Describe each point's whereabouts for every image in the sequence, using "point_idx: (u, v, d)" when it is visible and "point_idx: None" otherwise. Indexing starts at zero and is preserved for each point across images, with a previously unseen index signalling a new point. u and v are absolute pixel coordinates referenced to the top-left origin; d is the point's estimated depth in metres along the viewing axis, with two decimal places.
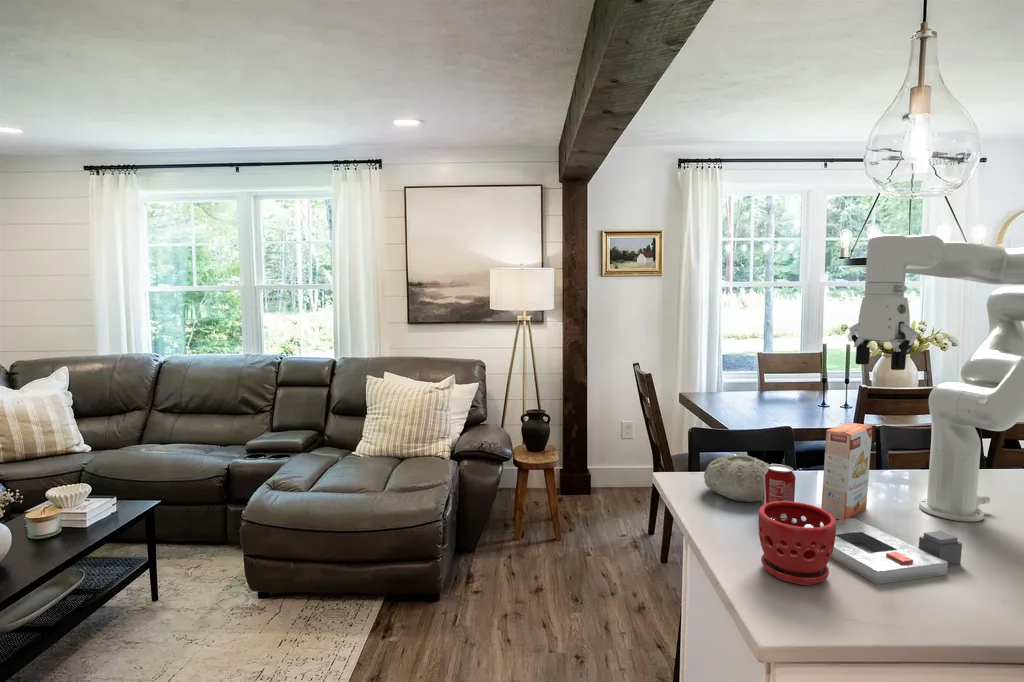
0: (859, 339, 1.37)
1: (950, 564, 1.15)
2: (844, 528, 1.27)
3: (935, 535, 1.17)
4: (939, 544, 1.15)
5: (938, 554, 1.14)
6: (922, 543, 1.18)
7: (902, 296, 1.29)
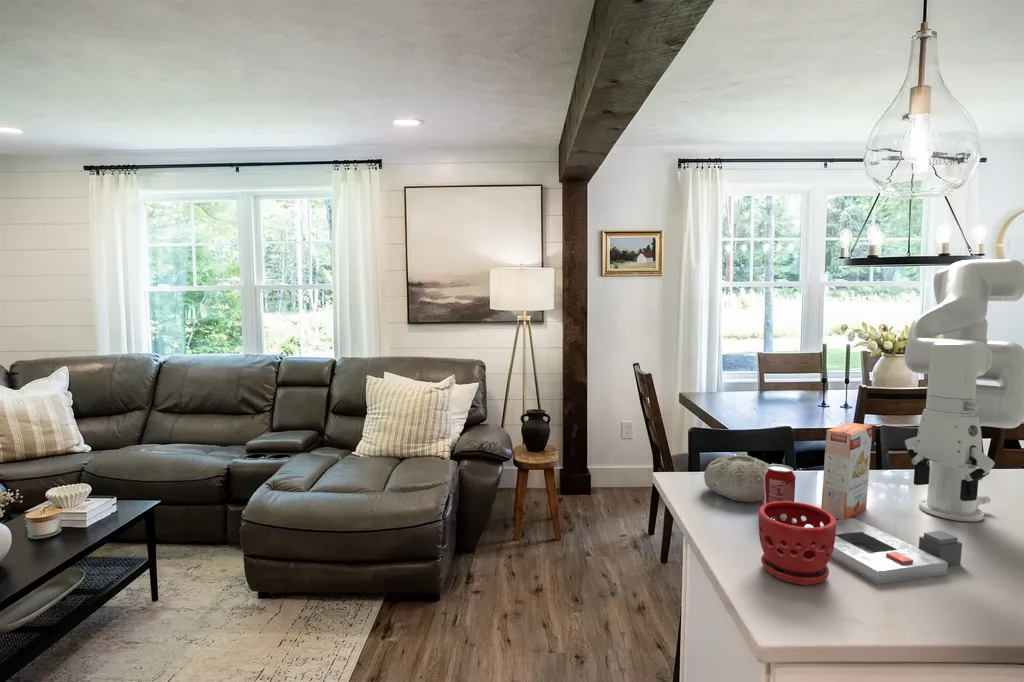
0: (918, 456, 1.19)
1: (950, 564, 1.15)
2: (844, 528, 1.27)
3: (935, 535, 1.17)
4: (939, 544, 1.15)
5: (938, 554, 1.14)
6: (922, 543, 1.18)
7: (972, 414, 1.11)
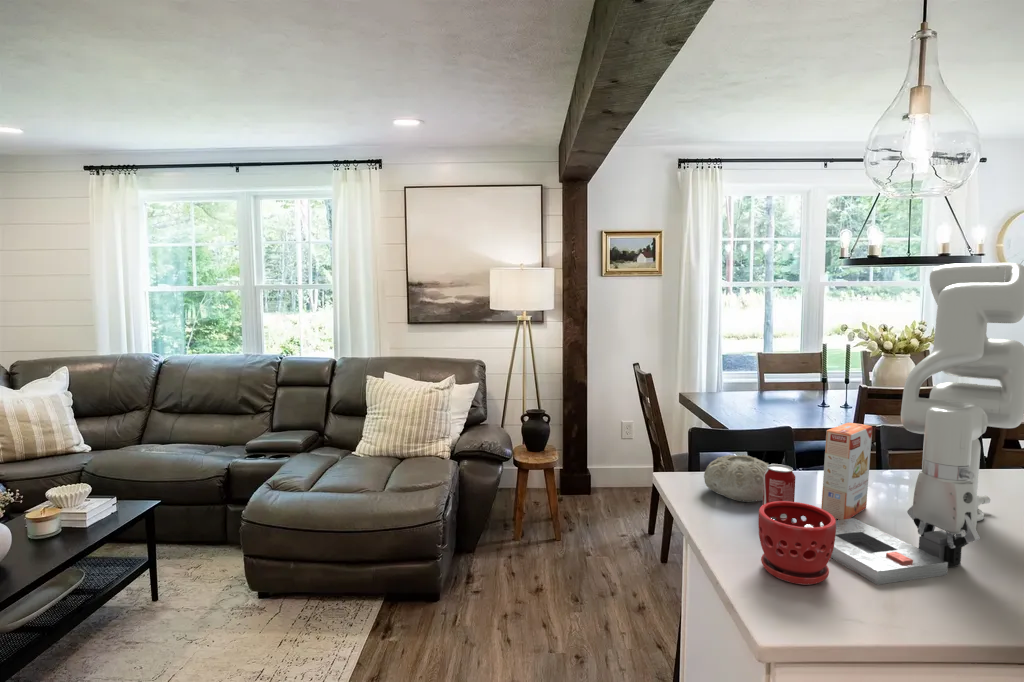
0: (921, 525, 1.19)
1: None
2: (844, 528, 1.27)
3: (935, 535, 1.17)
4: (939, 543, 1.15)
5: (938, 554, 1.14)
6: (922, 542, 1.18)
7: (967, 480, 1.13)
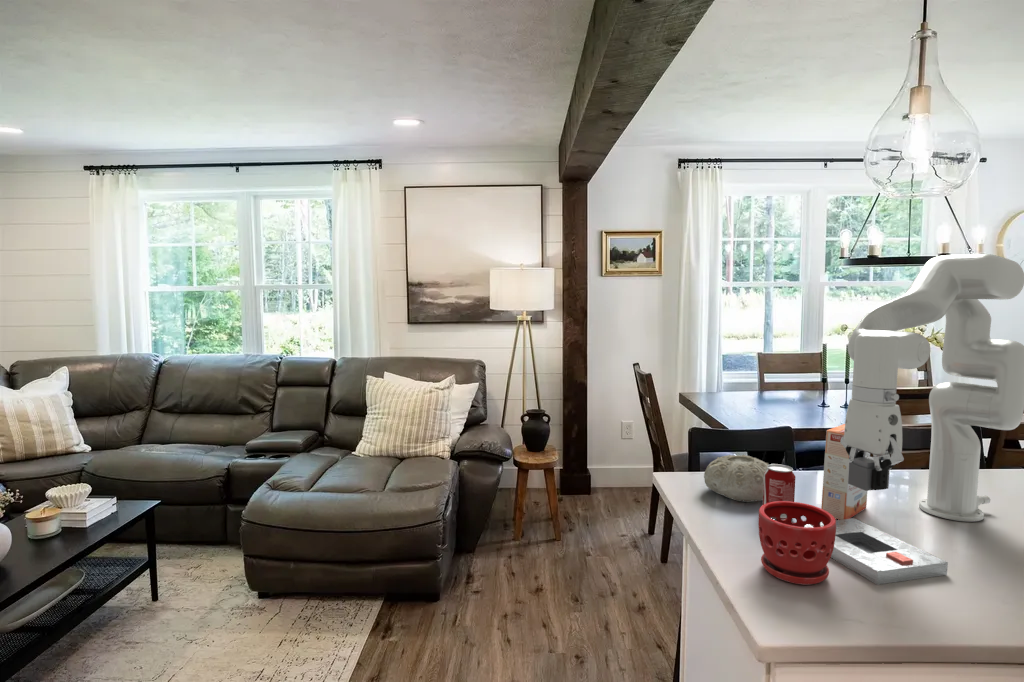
0: (852, 451, 1.21)
1: None
2: (844, 528, 1.27)
3: (864, 460, 1.18)
4: (867, 467, 1.16)
5: (865, 477, 1.16)
6: (851, 468, 1.19)
7: (893, 404, 1.14)
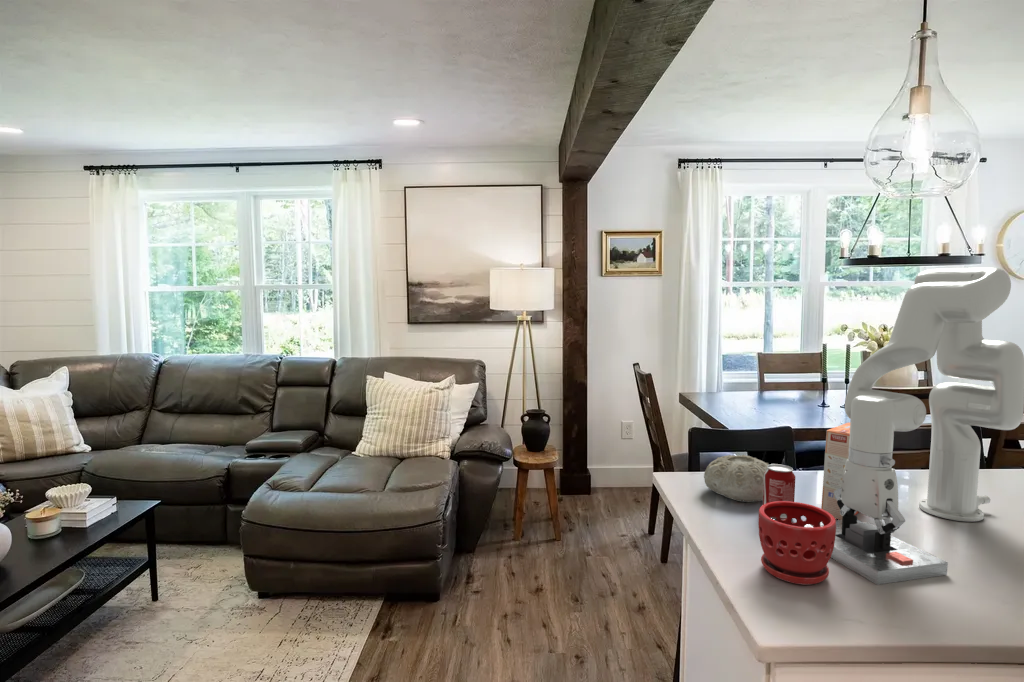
0: (844, 507, 1.23)
1: None
2: None
3: (860, 526, 1.20)
4: (863, 535, 1.18)
5: (861, 545, 1.17)
6: (848, 534, 1.21)
7: (890, 468, 1.16)
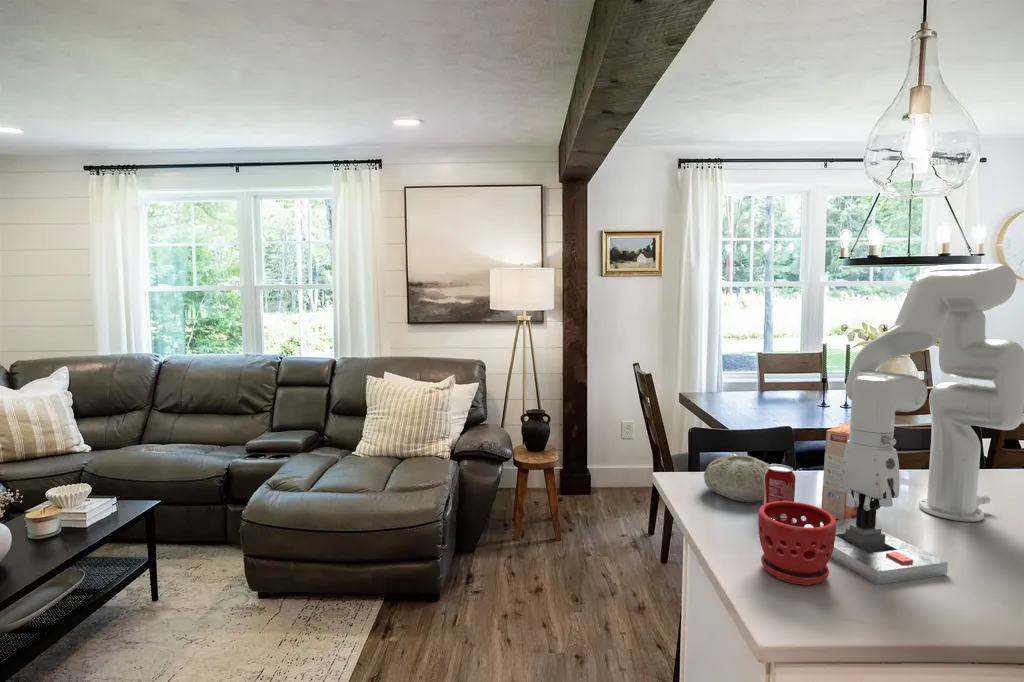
0: (855, 495, 1.20)
1: None
2: (844, 528, 1.27)
3: None
4: (863, 535, 1.18)
5: (861, 545, 1.17)
6: (848, 534, 1.21)
7: (891, 447, 1.15)
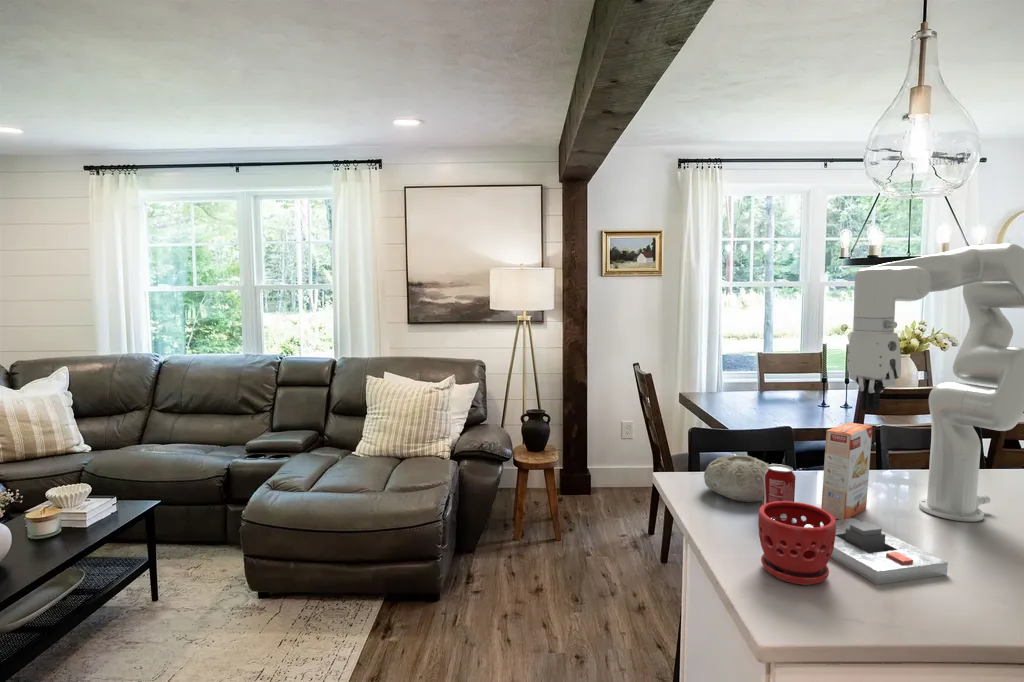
0: (860, 381, 1.29)
1: None
2: (844, 528, 1.27)
3: (860, 526, 1.20)
4: (863, 535, 1.18)
5: (861, 545, 1.17)
6: (848, 534, 1.21)
7: (892, 332, 1.24)
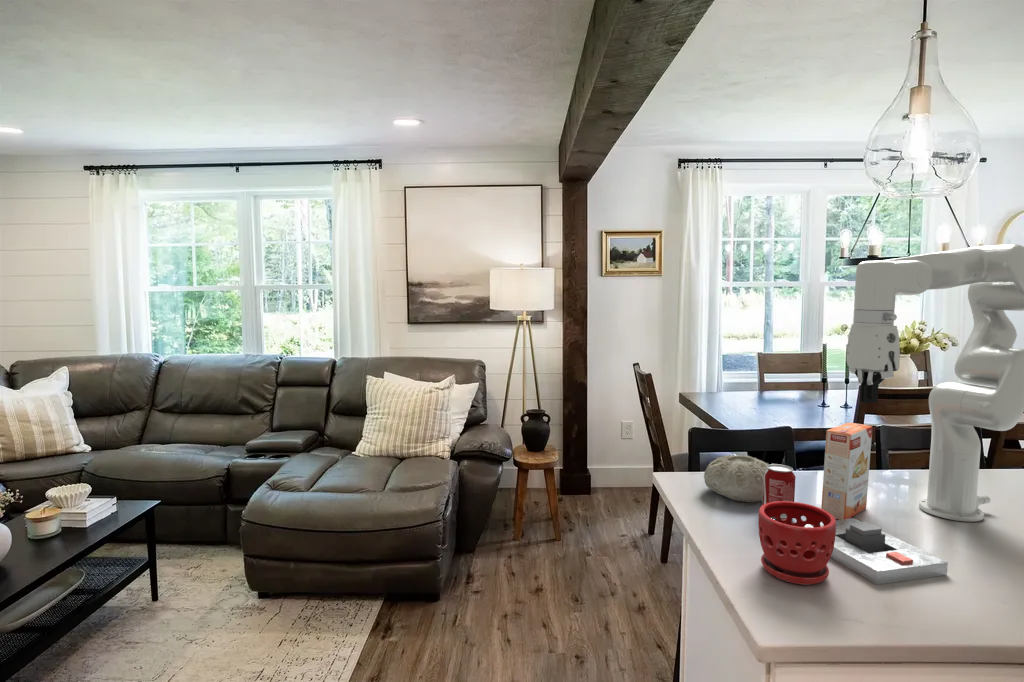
0: (859, 373, 1.30)
1: None
2: (844, 528, 1.27)
3: (860, 526, 1.20)
4: (863, 535, 1.18)
5: (861, 545, 1.17)
6: (848, 534, 1.21)
7: (892, 324, 1.25)
